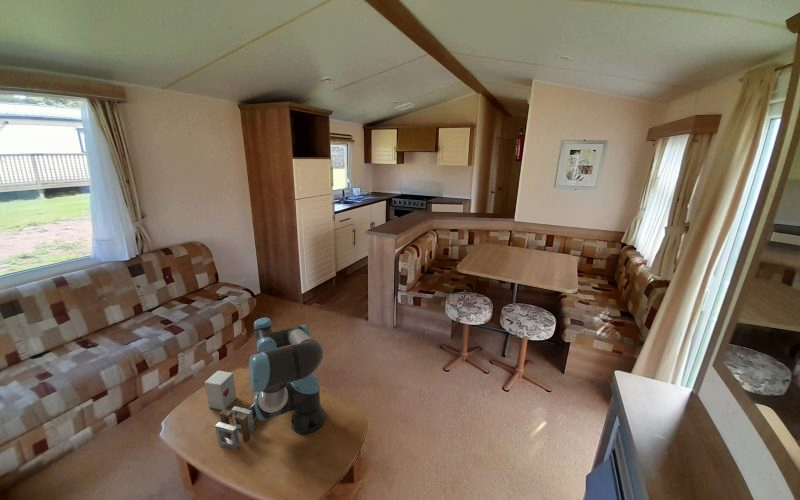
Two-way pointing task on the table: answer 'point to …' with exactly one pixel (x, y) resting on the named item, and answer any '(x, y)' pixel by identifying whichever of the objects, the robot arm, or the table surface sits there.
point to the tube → (252, 408)
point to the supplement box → (220, 390)
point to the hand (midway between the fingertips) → (270, 389)
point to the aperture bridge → (239, 417)
